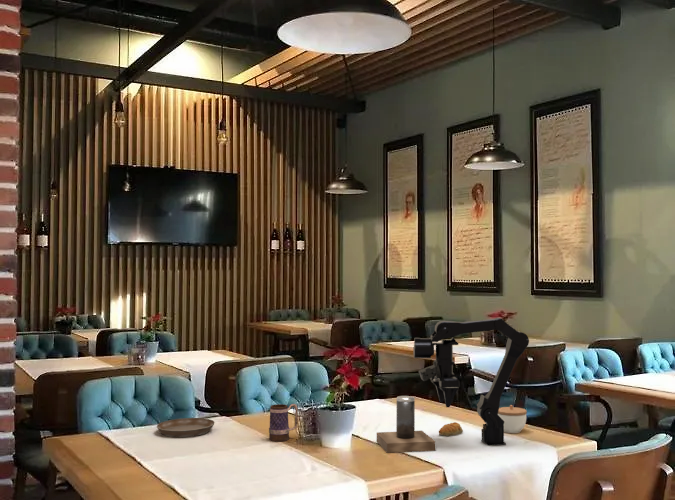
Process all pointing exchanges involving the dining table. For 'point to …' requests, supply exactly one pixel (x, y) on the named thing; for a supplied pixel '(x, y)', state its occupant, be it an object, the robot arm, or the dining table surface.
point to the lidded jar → (513, 418)
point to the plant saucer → (185, 427)
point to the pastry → (451, 429)
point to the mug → (280, 422)
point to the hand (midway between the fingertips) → (444, 404)
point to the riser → (405, 442)
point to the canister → (405, 417)
